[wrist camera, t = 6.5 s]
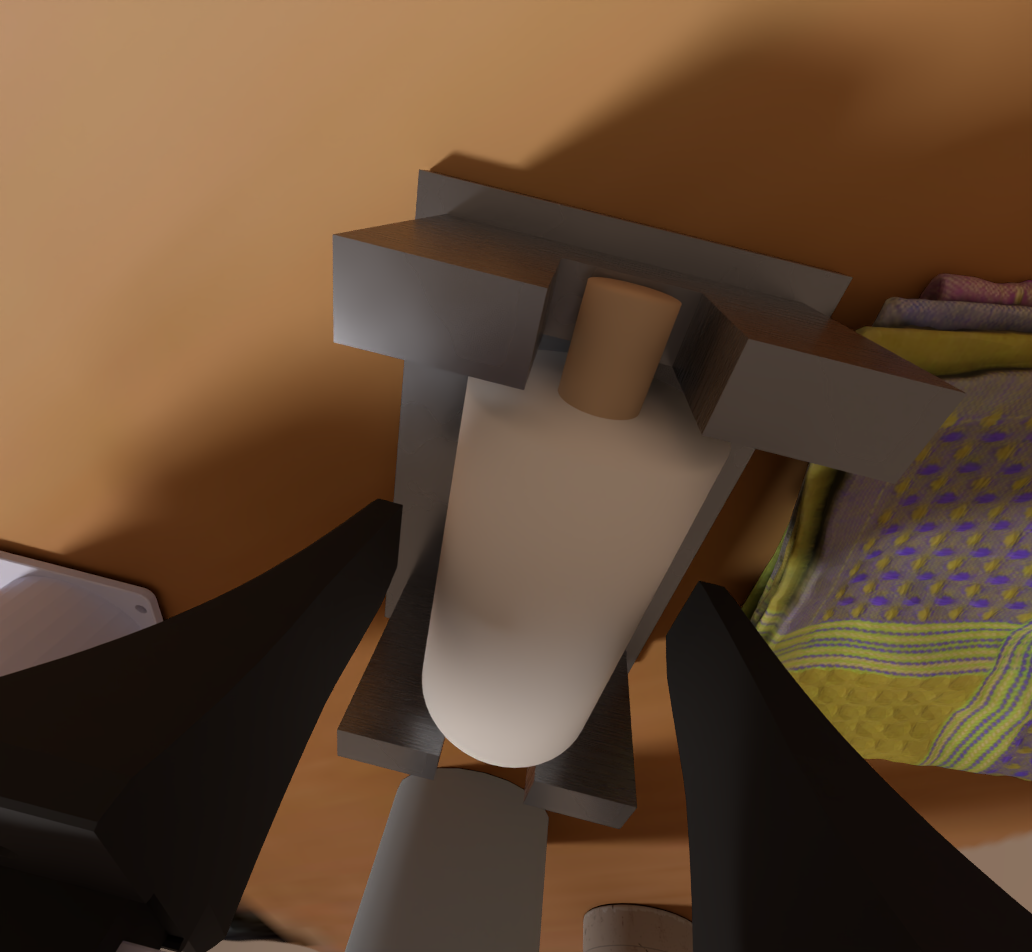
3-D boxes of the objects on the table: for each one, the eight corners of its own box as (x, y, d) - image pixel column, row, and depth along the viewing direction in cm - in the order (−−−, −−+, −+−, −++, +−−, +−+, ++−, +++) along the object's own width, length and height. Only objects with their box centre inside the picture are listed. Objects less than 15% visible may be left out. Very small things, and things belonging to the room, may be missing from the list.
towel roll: (568, 657, 17) (577, 814, 13) (432, 634, 17) (396, 789, 13) (725, 291, 10) (858, 377, 6) (498, 238, 10) (465, 289, 5)
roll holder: (624, 665, 18) (635, 845, 13) (390, 605, 19) (314, 761, 14) (840, 273, 10) (1068, 353, 5) (427, 170, 11) (275, 155, 6)
